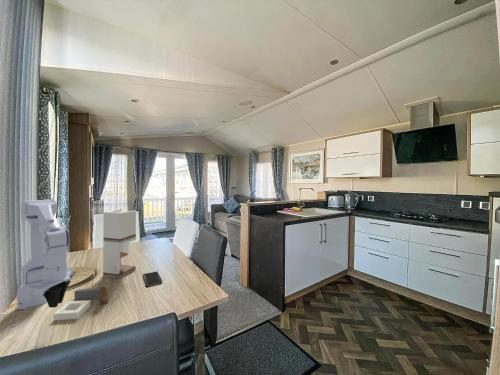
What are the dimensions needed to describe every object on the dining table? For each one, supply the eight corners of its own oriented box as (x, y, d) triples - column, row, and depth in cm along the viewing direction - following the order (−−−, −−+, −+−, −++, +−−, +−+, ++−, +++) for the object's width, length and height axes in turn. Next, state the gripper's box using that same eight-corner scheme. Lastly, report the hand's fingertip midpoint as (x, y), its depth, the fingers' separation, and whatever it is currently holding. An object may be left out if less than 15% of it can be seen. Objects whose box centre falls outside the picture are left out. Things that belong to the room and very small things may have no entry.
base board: (45, 326, 76) (45, 313, 76) (76, 299, 93) (76, 289, 92) (80, 323, 78) (80, 311, 77) (104, 298, 94) (104, 288, 94)
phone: (145, 285, 105) (142, 274, 117) (145, 288, 105) (142, 276, 117) (162, 282, 109) (157, 271, 122) (162, 284, 109) (157, 273, 122)
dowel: (98, 307, 88) (98, 288, 87) (101, 303, 91) (102, 284, 90) (106, 306, 88) (106, 287, 88) (109, 302, 91) (109, 284, 91)
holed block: (53, 320, 78) (53, 313, 77) (68, 307, 85) (68, 301, 85) (78, 318, 79) (78, 312, 79) (90, 306, 87) (90, 300, 87)
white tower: (119, 278, 113) (120, 213, 112) (103, 276, 115) (103, 212, 114) (135, 269, 124) (136, 210, 123) (120, 267, 126) (120, 209, 125)
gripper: (52, 274, 66) (53, 317, 66) (81, 257, 80) (81, 293, 81) (26, 275, 65) (27, 319, 65) (60, 258, 79) (61, 294, 80)
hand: (55, 304), depth 73 cm, fingers closed
